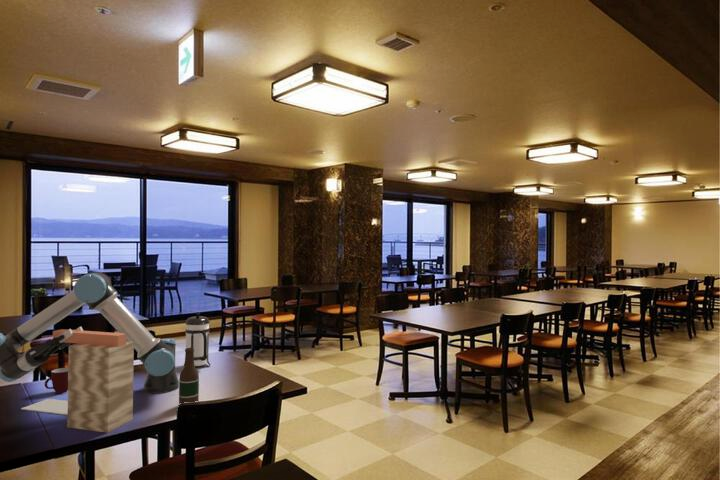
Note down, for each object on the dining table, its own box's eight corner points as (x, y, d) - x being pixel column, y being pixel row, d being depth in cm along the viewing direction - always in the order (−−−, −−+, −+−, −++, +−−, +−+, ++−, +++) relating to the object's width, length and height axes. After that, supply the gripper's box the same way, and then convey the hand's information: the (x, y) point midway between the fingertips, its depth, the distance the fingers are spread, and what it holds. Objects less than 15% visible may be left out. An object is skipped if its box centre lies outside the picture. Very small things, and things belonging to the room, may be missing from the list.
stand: (132, 419, 170) (133, 342, 171) (107, 432, 159) (109, 349, 159) (94, 415, 175) (95, 339, 175) (67, 427, 163) (68, 345, 163)
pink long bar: (126, 344, 167) (126, 333, 167) (117, 346, 163) (118, 335, 163) (62, 339, 174) (62, 329, 174) (52, 341, 170) (52, 331, 170)
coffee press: (175, 369, 238) (176, 314, 239) (191, 362, 254) (192, 309, 255) (205, 371, 236) (206, 315, 236) (219, 363, 251) (220, 311, 252)
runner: (105, 406, 184) (105, 405, 184) (81, 417, 173) (81, 416, 173) (48, 399, 191) (48, 398, 191) (20, 409, 180) (20, 408, 180)
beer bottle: (186, 410, 181) (187, 351, 181) (174, 406, 185) (175, 348, 185) (202, 404, 188) (203, 347, 188) (190, 400, 192) (191, 345, 192)
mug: (49, 398, 193) (49, 375, 193) (41, 394, 198) (41, 372, 198) (75, 391, 202) (75, 369, 202) (67, 388, 207) (67, 366, 207)
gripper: (57, 360, 182) (98, 335, 178) (16, 372, 166) (60, 344, 161) (50, 344, 183) (91, 318, 179) (9, 354, 167) (52, 326, 162)
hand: (76, 331), depth 170 cm, fingers closed on pink long bar, 4 cm apart
